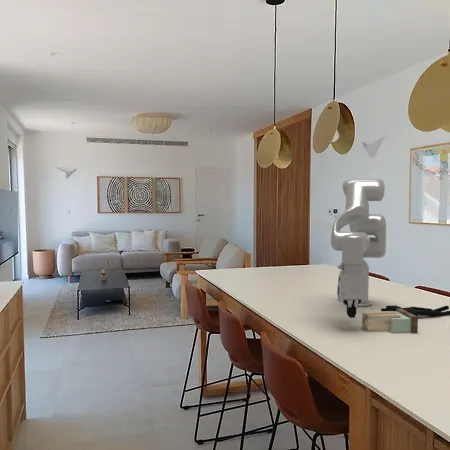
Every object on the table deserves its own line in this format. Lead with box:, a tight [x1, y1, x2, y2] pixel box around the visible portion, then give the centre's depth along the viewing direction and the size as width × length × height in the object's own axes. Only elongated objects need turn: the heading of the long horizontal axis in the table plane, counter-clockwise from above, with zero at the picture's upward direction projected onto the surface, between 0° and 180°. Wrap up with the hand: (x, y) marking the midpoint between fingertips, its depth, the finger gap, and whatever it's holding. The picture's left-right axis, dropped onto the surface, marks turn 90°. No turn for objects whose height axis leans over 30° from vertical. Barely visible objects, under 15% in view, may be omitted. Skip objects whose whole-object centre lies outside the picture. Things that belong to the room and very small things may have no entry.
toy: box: [380, 304, 450, 318], centre depth 179 cm, size 10×5×30 cm
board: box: [396, 309, 419, 334], centre depth 159 cm, size 20×29×7 cm
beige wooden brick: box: [361, 310, 400, 333], centre depth 157 cm, size 6×12×6 cm, turn 95°
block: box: [389, 311, 412, 334], centre depth 158 cm, size 10×7×5 cm, turn 5°
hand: (351, 316), depth 157 cm, fingers closed
